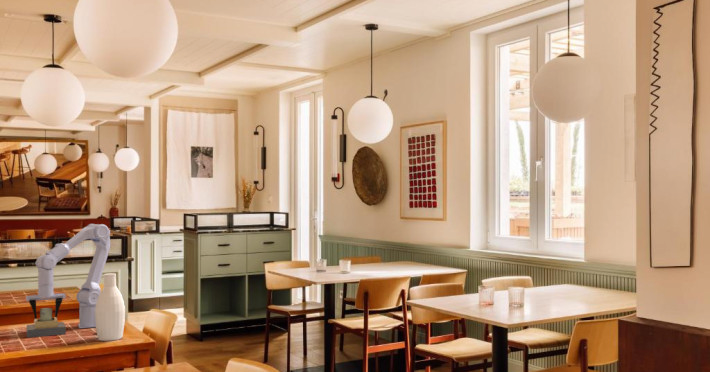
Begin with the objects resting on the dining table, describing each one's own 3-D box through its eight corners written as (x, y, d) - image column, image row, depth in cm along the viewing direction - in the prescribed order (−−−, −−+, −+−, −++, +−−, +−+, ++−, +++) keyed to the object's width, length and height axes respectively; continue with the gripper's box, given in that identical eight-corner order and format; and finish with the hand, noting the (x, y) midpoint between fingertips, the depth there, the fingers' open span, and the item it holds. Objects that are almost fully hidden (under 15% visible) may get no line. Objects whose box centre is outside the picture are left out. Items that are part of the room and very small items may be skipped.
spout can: (53, 324, 281) (53, 307, 281) (47, 327, 275) (47, 310, 275) (42, 324, 280) (43, 307, 281) (36, 327, 275) (36, 310, 275)
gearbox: (63, 329, 287) (63, 315, 287) (65, 334, 276) (65, 320, 276) (26, 332, 281) (26, 318, 281) (27, 337, 270) (27, 323, 270)
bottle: (107, 342, 259) (107, 276, 260) (89, 339, 265) (88, 274, 266) (131, 337, 269) (131, 273, 269) (113, 334, 275) (112, 271, 275)
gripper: (64, 282, 286) (64, 314, 285) (26, 284, 279) (26, 317, 279) (65, 284, 279) (65, 317, 279) (26, 286, 273) (26, 320, 273)
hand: (45, 317), depth 279 cm, fingers open, 7 cm apart
